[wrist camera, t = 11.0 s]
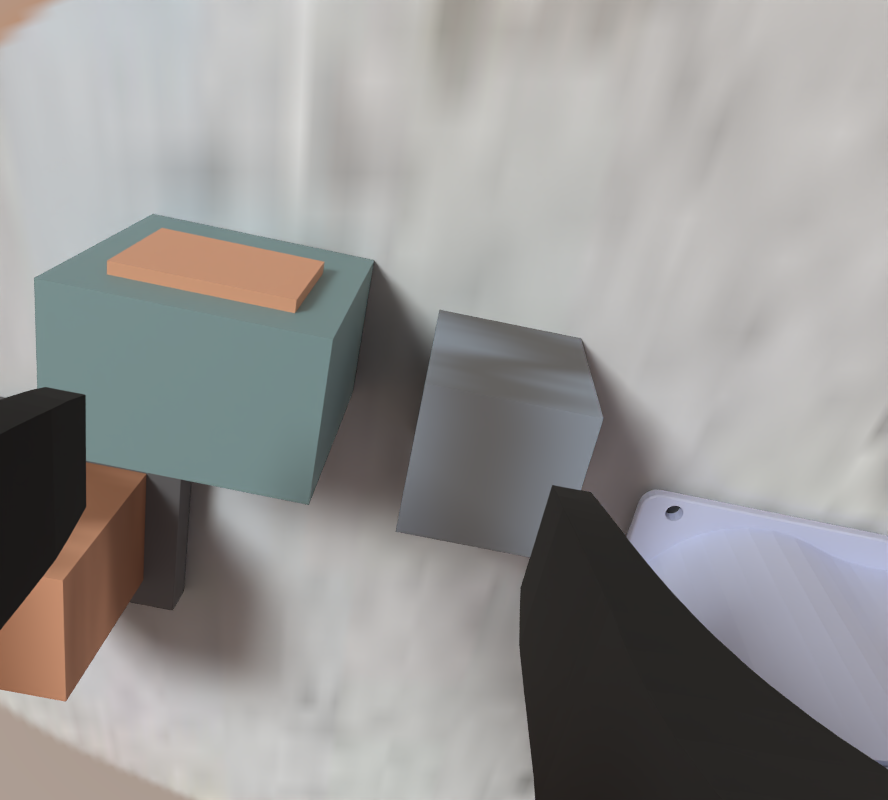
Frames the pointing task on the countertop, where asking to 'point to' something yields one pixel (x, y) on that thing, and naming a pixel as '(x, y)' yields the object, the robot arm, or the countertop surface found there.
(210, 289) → the box
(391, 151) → the countertop surface
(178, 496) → the mat
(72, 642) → the terracotta block
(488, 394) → the slate block
